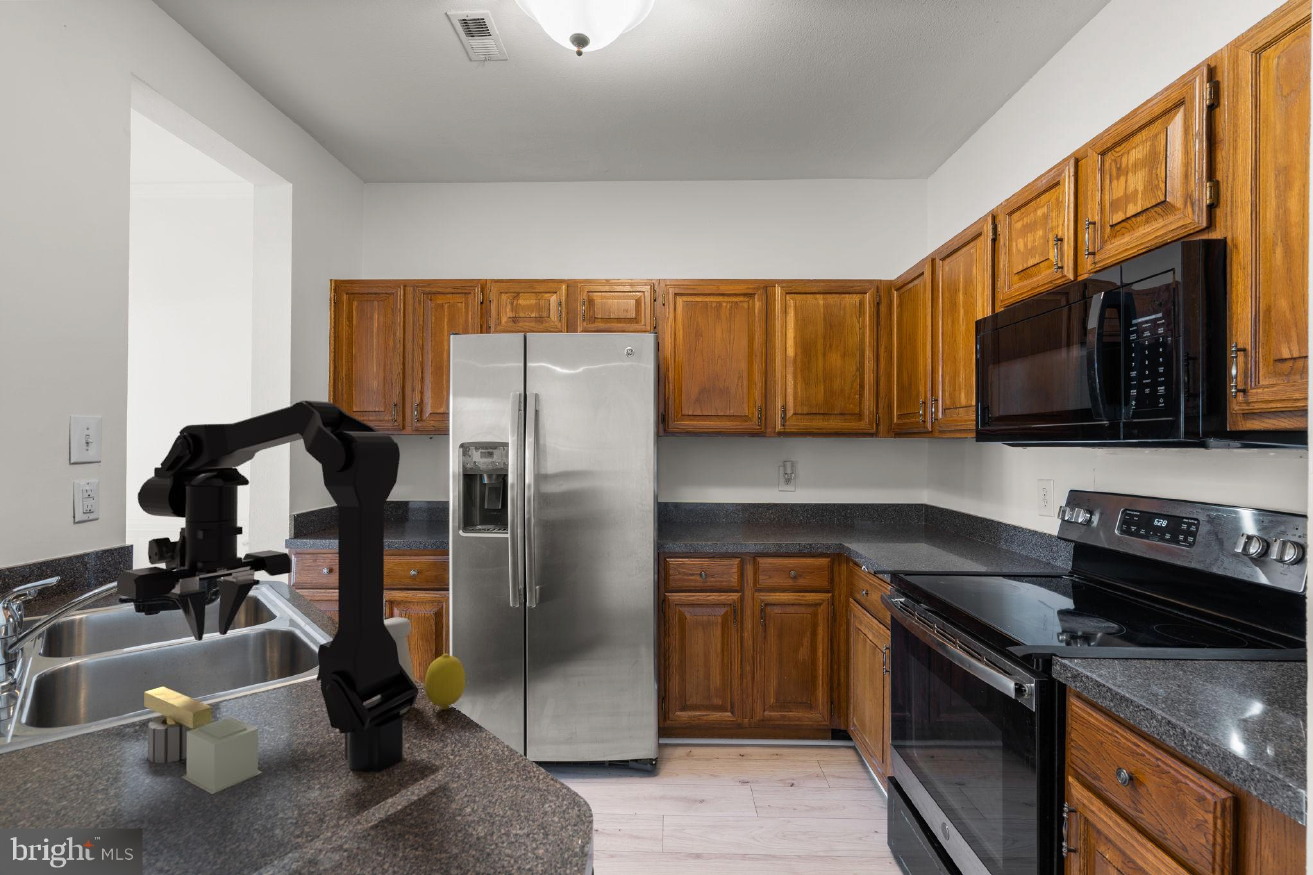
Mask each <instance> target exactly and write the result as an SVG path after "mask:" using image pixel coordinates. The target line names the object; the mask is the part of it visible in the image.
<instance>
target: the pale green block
mask: <svg viewBox="0 0 1313 875" xmlns="http://www.w3.org/2000/svg"><path fill="white" fill-rule="evenodd" d="M258 766H259V728H258V727H256V726H253V725H250V724H248V723H245V722H243V721H241V720H239V719H236V718H234V717H231V716H229V717H225V718H223V719H219V720H217V721H214V722H211V723H208V724H205V726H202V727H199V728H196V729H193V730H190V731H187V758H186V774H185V776H187V777H189V778H190V779H192V780H194V781H196V782H198V783H200V784H201V785H203V786H205V787H207V788H209V789H211V790H213V791H216V790H219V789H221V788H223V787H226V786H228V785H230V784H233V783H235V782H237V781H240V780H242V779H244V778H247V777H249V776H251V775H254V774H256V773H258V770H259V767H258Z"/></svg>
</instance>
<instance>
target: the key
mask: <svg viewBox="0 0 1313 875" xmlns="http://www.w3.org/2000/svg"><path fill="white" fill-rule="evenodd" d="M143 695H144V697H143V700H144V702H143V705H144V706H143V707H144V708H147V709H149V710H151V711H153V712H155V713H158V714H159V715H161V716H162V715H164V716H166V717H167V725H171V724H177V723H181V724H183V725H186V726H188V727H190V728H192V729H193V728H196V727H199V726H202V725H208V724H211V723H213V706H211V705H208V704H206V703H204V702H201V701H199V700H196V699H194V698H192V697H189V696H187V695H184V694H182V693H180V692H178V691H175V690H172V689H170V688H167V687H166V686H160V687H157V688H154V689H150V690H146V691H144V693H143Z"/></svg>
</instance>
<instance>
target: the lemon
mask: <svg viewBox="0 0 1313 875" xmlns="http://www.w3.org/2000/svg"><path fill="white" fill-rule="evenodd" d="M465 688H466V672H465V668H464V666H463V663H462V662H461V660H459V659H458V658H457V657H455V656H453V655H449V653H443V654H442V655H441V656H439V657H437V658H436V659H434V660H433V661H432V662H431V663H430V665H429V666H428V668H427V671H426V674H425V679H424V689H425V693H426V697H427V699H428V700H429V701H430V702H431V703H432V704H433V705H435V706H437V707H440V708H441V709H442V710H443V711H444V710H448V708H450V706H451V705H454V704H455V703H456V702H458V701H459V700H460V698H461V697H462V695H463V694H464V691H465ZM448 704H449V705H450V706H449V705H448Z"/></svg>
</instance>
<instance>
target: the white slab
mask: <svg viewBox="0 0 1313 875" xmlns="http://www.w3.org/2000/svg"><path fill="white" fill-rule="evenodd" d="M205 725H206V724H205ZM205 725H202V726H205ZM202 726H199V727H202ZM199 727H196V728H199ZM196 728H193V729H196ZM193 729H192V728H190V727H188V726H186V725H183V724H181V723H177V724H171V725H167V717H166V716H164V715H162V714H161V716H157V717H155V718H154V719H152V720H151V721H149V723H148V725H147V761H149V762H151V763H154V764H165V763H172V762H179V761H180V759H182V760H185V759H187V731H190V730H193ZM261 774H263V771H262V770H261V771H260V770H259V769H258V773H256V774H254V775H251V776H249V777H247V778H244V779H242V780H240V781H237V782H235V783H233V784H230V785H228V786H226V787H223V788H221V789H219V790H216V791H213V790H211V789H209V788H207V787H205V786H203V785H201V784H200V783H198V782H196V781H194V780H192V779H190V778H189V777H187V776H186V775H183V776H181V778H182V779H184V781H187V782H189V783H191V784H193V785H194V786H197V787H198V788H200V789H201V790H202V791H206V792H207V793H208V794H211V795H214V794H216V793H218V792H220V791H222V790H225V789H227V788H230V787H232V786H234V785H237V784H239V783H242V782H244V781H247V780H249V779H251V778H254V777H255V776H257V775H261Z"/></svg>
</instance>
